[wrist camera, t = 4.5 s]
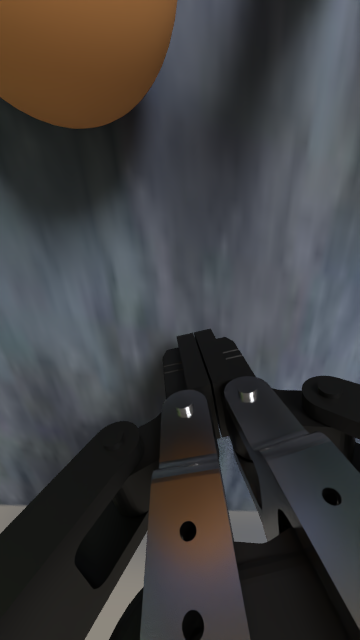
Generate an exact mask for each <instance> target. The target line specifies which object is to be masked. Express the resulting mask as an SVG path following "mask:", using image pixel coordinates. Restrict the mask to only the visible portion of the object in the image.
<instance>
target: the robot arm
mask: <svg viewBox="0 0 360 640" xmlns="http://www.w3.org/2000/svg"><path fill="white" fill-rule="evenodd" d="M194 336H195V337H194ZM177 341H178V346H179V348H175V349H170V350H167V351H166V353H165V355H164V357H163V368H164V380H165V392H166V400H165V402H164V403H163V406H162V412H161V413H160V414H159V415H158V416H157V417H156V418H155V419H154V420H152V421H150V422H149V423H147V424H145V425H143V426H141V427H139V428H137V427H136V425H134V424H133V423H131V422H127V421H120V422H116V423H113V424H110V425H108V426H107V427H105V428H103V429H102V430H101V431H100V432H99V433H98V434H97V435H96V436H95V437H94V438H93V439H92V440H91V441H90V442H89V443H88V444H87V445H86V446H85V447H84V448H83V449H82V450H81V451H80V452H79V453H78V454H77V455H76V456H75V457H74V458H73V459H72V460H71V461H70V462H69V464H68V465H67V466H66V467H65V468H64V469H63V470H62V471H61V472H60V473H59V474H58V475H57V476H56V477H55V478H54V479H53V480H52V481H51V482H50V483H49V484H48V485H47V486H46V487H45V488H44V489H43V490H42V491H41V492H40V493H39V494H38V495H37V496H36V498H35V499H34V500H33V501H32V502H31V503H30V504H29V505H28V506H27V507H26V508H25V509H24V510H23V511H22V512H21V513H20V514H19V515H18V516H17V517H16V518H15V519H14V520H13V521H12V522H11V523H10V524H9V525H8V527H6V528H5V530H4V531H3V532H2V533H1V534H0V640H84V639H85V638H86V636H87V634H88V633H89V631H90V629H91V627H92V626H93V624H94V622H95V620H96V619H97V617H98V615H99V613H100V612H101V610H102V608H103V606H104V605H105V603H106V601H107V600H108V598H109V596H110V594H111V593H112V591H113V589H114V587H115V586H116V584H117V582H118V581H119V579H120V577H121V575H122V574H123V572H124V570H125V569H126V567H127V565H128V563H129V562H130V559H131V558H132V556H133V555H134V553H135V551H136V549H137V548H138V546H139V544H140V543H141V541H142V539H143V537H144V536H145V534H146V532H147V530H148V533H147V547H146V562H145V576H144V587H143V588H142V589H141V590H140V592H139V593H138V594H137V595H136V596H135V598H134V599H133V600H132V602H131V603H130V604H129V605H128V607H127V609H126V610H125V612H124V613H123V615H122V617H121V618H120V620H119V622H118V623H117V625H116V627H115V629H114V631H113V633H112V635H111V637H110V639H109V640H360V444H358V443H356V442H355V438H358V439H360V384H356V383H353V382H350V381H347V380H343V379H340V378H336V377H331V376H316V377H312V378H310V379H308V380H306V381H305V382H304V384H303V385H302V391H297V390H277V389H273V388H271V387H270V386H269V384H268V383H267V382H265V381H264V380H262V379H260V378H257V377H256V376H255V375H254V373H253V372H252V370H251V368H250V367H249V365H248V364H247V362H246V360H245V359H244V357H243V356H242V354H241V352H240V351H239V350H238V348H237V346H236V344H235V343H234V342H233V341H232V340H230V339H228V338H226V337H223V338H218V339H216V338H215V336H214V334H213V332H212V330H211V329H207V330H202V331H198V332H194V335H193V333H190V334H185V335H181V336H177ZM218 425H219V427H218ZM219 428H220V432H221V435H222V437H226V436H229V437H230V439H231V442H232V445H233V452H234V457H235V460H236V462H237V464H238V467H239V469H240V471H241V474H242V476H243V478H244V481H245V483H246V485H247V488H248V490H249V492H250V495H251V497H252V499H253V502H254V504H255V506H256V509H257V511H258V513H259V516H260V519H261V521H262V524H263V528H264V531H265V535H266V538H267V541H268V542H266V543H263V544H258V543H245V542H234V538H233V533H232V528H231V523H230V517H229V512H228V507H227V501H226V496H225V491H224V485H223V480H222V475H221V469H220V464H219V448H218V443H217V439H218V438H220V433H219Z"/></svg>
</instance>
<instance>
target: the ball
mask: <svg viewBox="0 0 360 640" xmlns="http://www.w3.org/2000/svg"><path fill="white" fill-rule="evenodd" d="M176 6H177V0H0V97H1V98H2V99H3V100H5V101H6V102H8V103H9V104H11V105H12V106H14V107H15V108H17V109H18V110H20V111H22V112H24V113H26V114H28V115H30V116H32V117H34V118H36V119H38V120H41V121H44V122H47V123H49V124H52V125H56V126H60V127H66V128H73V129H85V128H94V127H99V126H103V125H106V124H109V123H111V122H113V121H115V120H117V119H119V118H121V117H122V116H124V115H126V114H127V113H128V112H129V111H131V110H132V109H133V108H134V107H135V106H136V105H137V104H138V103H139V102H140V101H141V100H142V99H143V97H144V96H145V95H146V93H147V92H148V90H149V89H150V88H151V86H152V84H153V83H154V81H155V79H156V77H157V75H158V73H159V71H160V69H161V67H162V64H163V61H164V59H165V56H166V53H167V50H168V47H169V43H170V39H171V35H172V30H173V26H174V21H175V14H176Z"/></svg>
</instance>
